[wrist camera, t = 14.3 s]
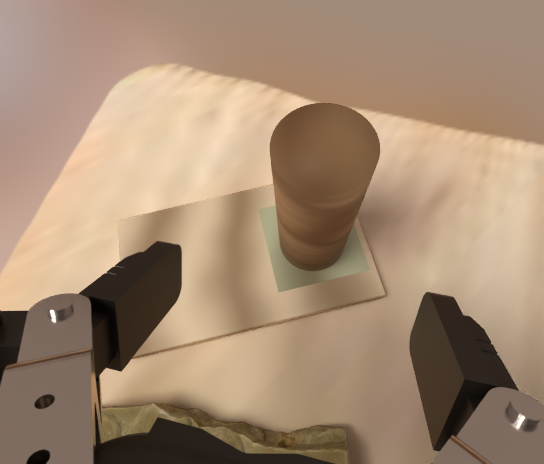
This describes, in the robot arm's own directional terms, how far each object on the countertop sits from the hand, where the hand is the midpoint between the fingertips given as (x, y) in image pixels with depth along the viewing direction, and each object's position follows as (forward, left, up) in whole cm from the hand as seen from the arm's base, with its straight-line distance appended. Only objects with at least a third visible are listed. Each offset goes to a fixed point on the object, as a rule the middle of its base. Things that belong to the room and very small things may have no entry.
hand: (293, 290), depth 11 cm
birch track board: (+2, -7, -15) cm, 17 cm away
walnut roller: (-3, -7, -14) cm, 16 cm away
